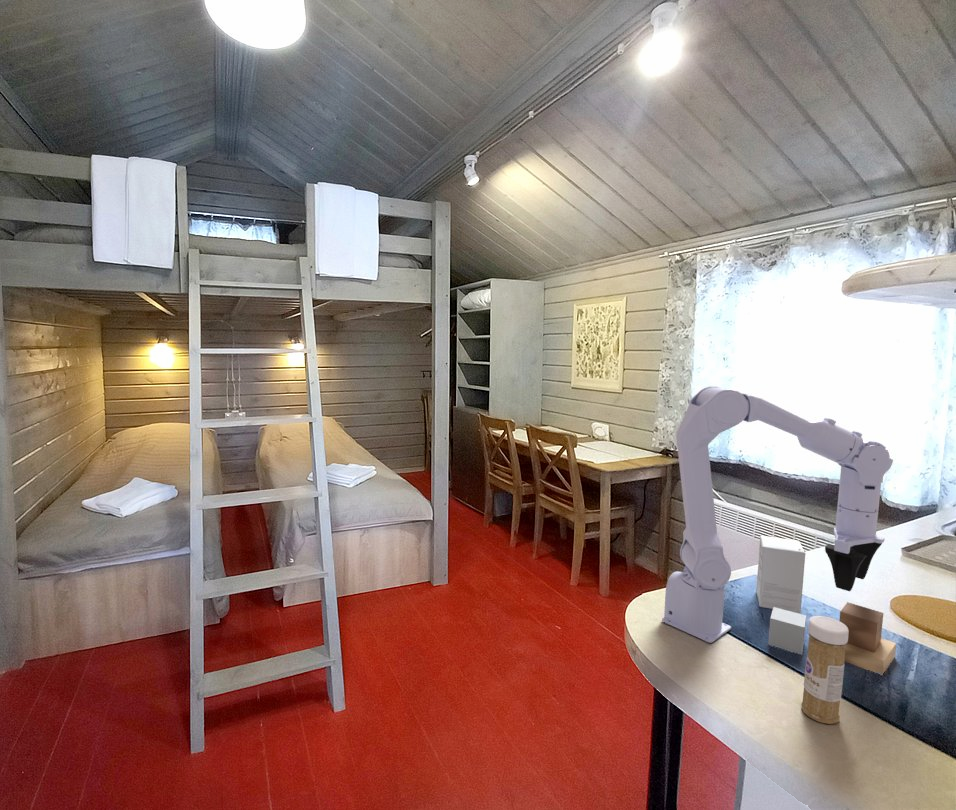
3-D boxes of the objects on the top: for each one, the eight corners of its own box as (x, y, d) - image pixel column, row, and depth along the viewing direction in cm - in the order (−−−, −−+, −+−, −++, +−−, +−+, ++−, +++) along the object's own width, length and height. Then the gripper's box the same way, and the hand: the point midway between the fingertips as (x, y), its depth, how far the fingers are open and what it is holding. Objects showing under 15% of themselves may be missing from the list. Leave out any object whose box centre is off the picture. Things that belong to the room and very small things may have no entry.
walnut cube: (837, 639, 87) (840, 611, 86) (844, 629, 90) (847, 602, 89) (874, 652, 83) (877, 623, 82) (880, 641, 86) (883, 612, 86)
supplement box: (795, 599, 106) (800, 540, 105) (801, 615, 100) (806, 552, 99) (755, 591, 110) (759, 534, 108) (757, 607, 103) (762, 545, 102)
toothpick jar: (793, 704, 74) (801, 614, 73) (822, 702, 74) (831, 613, 73) (817, 727, 69) (826, 632, 68) (848, 725, 70) (857, 631, 69)
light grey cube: (768, 645, 89) (770, 618, 89) (771, 633, 93) (773, 606, 93) (802, 655, 86) (804, 627, 86) (803, 642, 90) (806, 615, 90)
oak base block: (823, 655, 87) (825, 638, 87) (838, 639, 92) (839, 623, 92) (882, 678, 81) (884, 660, 81) (894, 660, 86) (896, 643, 86)
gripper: (874, 521, 81) (866, 603, 83) (897, 505, 91) (889, 579, 92) (822, 510, 87) (816, 587, 88) (849, 496, 96) (842, 566, 97)
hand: (850, 582), depth 90 cm, fingers open, 7 cm apart
